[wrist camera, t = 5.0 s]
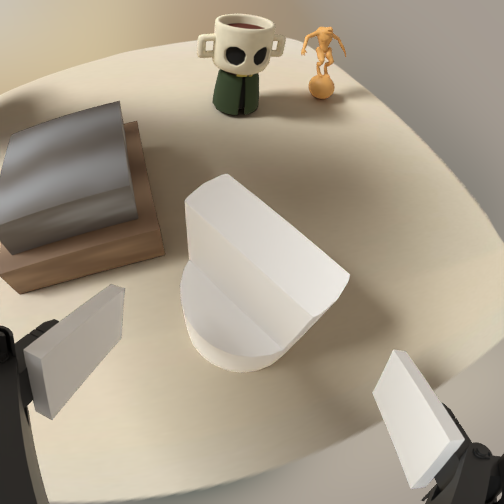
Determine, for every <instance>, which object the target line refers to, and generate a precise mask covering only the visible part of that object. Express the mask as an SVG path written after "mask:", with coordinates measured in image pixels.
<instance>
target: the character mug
mask: <svg viewBox="0 0 504 504" xmlns="http://www.w3.org/2000/svg"><path fill="white" fill-rule="evenodd" d="M274 33H275V24H274V22H272V21H270V20H269V19H266V18H263V17H259V16H254V15H248V14H227V15H223V16H220V17H218V18H216V21H215V32H214V34H203V35H200V36H199V38H198V46H197V55H198V57H200V58H209V57H213V58H212V60H213V62H214V64H215V65H216V66H217V67H218V68H219V69H220V70H219V73H218V77H217V81H216V85H215V89H214V95H213V104H214V105H215V107H216V109H217V110H219V111H221V112H223V113H226V114H232V115H238V108H239V109H241V108H245V110H244V114H249V113H251V112H254V111H255V110H256V109H257V107H258V101H259V75H258V73H259V72H261V71H263V70H264V69H265V68H266V66H267V65H268V64H269V61H270V57H279V56H282V54H283V51H284V46H285V41H286V37H285V36H284V35H277V34H274ZM206 41H214V44H213V50H212V51H206V50H205V48H206ZM273 41H278V44H277V49H276V50H272V45H273Z"/></svg>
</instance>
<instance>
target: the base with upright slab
mask: <svg viewBox="0 0 504 504" xmlns="http://www.w3.org/2000/svg"><path fill="white" fill-rule="evenodd" d="M185 215H186V228H187V240H188V251H189V261H188V262H187V264H186V266H185V268H184V270H183V274H182V279H181V283H180V294H181V305H182V309H183V314H184V318H185V323H186V327H187V331H188V334H189V336H190V339H191V341H192V344H193V345H194V346H195V348H196V349H197V351H198V352H199V353H200V355H201V356H203V357H204V358H205V359H206V360H208V361H209V362H210V363H212V364H213V365H215V366H217V367H220V368H222V369H225V370H227V371H234V372H241V373H244V372H252V371H258V370H260V369H263V368H265V367H268V366H270V365H272V364H273V363H274V362H275V361H277V360H278V359H279V358H281V357H282V356H283V355H284V354H285V353H286V352H287V351H288V350H289V349H290V348H291V347H292V346H293V345H294V344H295V343H296V342H297V341H298V340H299V339H300V338H301V337H302V336H303V335H304V334H305V333H306V332H307V331H308V330H309V329H310V328H311V327H312V326H313V325H314V324H315V323H316V322H317V321H318V320H319V318H320V317H321V316H322V315H323V314H324V313H325V312H326V311H327V310H328V309H329V308H330V307H331V306H332V305H333V304H334V302H335V301H336V300H337V299H338V298H339V296H340V294H341V293H342V291H343V289H344V288H345V286H346V285H347V283H348V281H349V277H350V274H349V273H348V272H346V271H345V270H344V269H343V268H342V267H341V266H340V265H338V264H337V263H336V262H335V261H334V260H333V259H331V258H330V257H329V256H328V255H327V254H326V253H324V252H323V251H322V250H321V249H320V248H318V247H317V246H316V245H315V244H314V243H313V242H311V241H310V240H309V239H308V238H307V237H305V236H304V235H303V234H302V233H301V232H299V231H298V230H297V229H296V228H295V227H293V226H292V225H291V224H290V223H289V222H287V221H286V220H285V219H284V218H282V217H281V216H280V215H279V214H278V213H276V212H275V211H274V210H273V209H271V208H270V207H269V206H268V205H266V204H265V203H264V202H263V201H262V200H260V199H259V198H258V197H257V196H255V195H254V194H253V193H252V192H250V191H249V190H248V189H247V188H245V187H244V186H243V185H241V184H240V183H239V182H238V181H236V180H235V179H234V178H233V177H231V176H230V175H229V174H223V175H220V176H218V177H216V178H214V179H211V180H209V181H207V182H205V183H203V184H202V185H201V186H200V187H198V188H197V189H196V190H195V191H194V192H192V193H191V194H190V195H189V196H188V197H187V198H186V200H185Z"/></svg>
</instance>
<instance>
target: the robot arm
mask: <svg viewBox="0 0 504 504" xmlns="http://www.w3.org/2000/svg"><path fill="white" fill-rule="evenodd" d="M124 294H125V288H122V287H119V286H116V285H113V284H110V285H109V286H107V287H106V288H105V289H103V290H102V291H100V292H99V293H98V294H96V295H95V296H94V297H92V298H91V299H89V300H88V301H87V302H85V303H84V304H83V305H81V306H80V307H79V308H77V309H76V310H74V311H73V312H72V313H70V314H69V315H68V316H66V317H65V318H64V319H62V320H61V321H57V320H55V319H53V320H50V321H47V322H44V323H42V324H41V325H40V326H38V327H37V328H36V330H35V329H34V330H33V331H31V332H30V334H27V335H26V336H24V337H23V338H22V339H20V340H19V341H18V342H16V343H15V344H14V338H13V333H12V331H11V330H10V329H9V328H6V327H4V326H0V504H49V502H48V498H47V495H46V492H45V488H44V485H43V481H42V477H41V473H40V469H39V465H38V460H37V456H36V451H35V446H34V441H33V435H32V430H31V423H30V417H29V411H28V407H27V405H28V404H29V403H30V402H31V401H32V400H33V402H34V406H35V410H36V412H38V413H40V414H42V415H44V416H46V417H47V418H49V419H51V420H53V418H54V417H55V416H56V415H57V414H58V412H59V411H60V410H61V409H62V407H63V406H64V405H65V404H66V403H67V401H68V400H69V399H70V398H71V397H72V395H73V394H74V393H75V392H76V391H77V389H78V388H79V387H80V386H81V385H82V383H83V382H84V381H85V380H86V379H87V377H88V376H89V375H90V374H91V373H92V372H93V370H94V369H95V368H96V367H97V366H98V365H99V363H100V362H101V361H102V360H103V359H104V358H105V356H106V355H107V354H108V353H109V352H110V351H111V350H112V348H113V347H114V346H115V345H116V344H117V343H118V341H119V340H120V339H121V338H122V321H123V306H124ZM372 394H373V396H374V399H375V401H376V403H377V406H378V408H379V411H380V413H381V415H382V418H383V420H384V423H385V425H386V427H387V430H388V432H389V435H390V437H391V440H392V442H393V445H394V447H395V450H396V452H397V455H398V458H399V460H400V463H401V465H402V468H403V471H404V473H405V476H406V479H407V481H408V484H409V487H410V489H415V488H422V487H426V486H427V485H428V484H429V483H430V482H431V481H432V479H433V478H435V480H436V482H437V484H436V485H435V486H434V487H433V488H432V489H431V491H429V493H428V494H427V495H426V496H425V497H424V498H423V499H422V501H424V500H425V499H426V498H428V499H427V501H426V503H425V504H504V454H503V455H502V456H501V457H500V456H492V453H491V451H490V450H489V449H488V448H487V447H486V446H485V445H483V444H480V443H472V442H471V440H470V439H469V437H468V436H467V434H466V433H465V431H464V429H463V428H462V426H461V425H460V424H459V422H458V420H457V419H455V416H454V414H453V413H452V411H451V410H450V409H449V408H448V407H447V406H446V405H445V404H443V403H441V401H440V400H439V398H438V397H437V395H436V394H435V392H434V391H433V390H432V388H431V387H430V385H429V384H428V382H427V381H426V379H425V378H424V376H423V375H422V373H421V372H420V371H419V369H418V368H417V366H416V365H415V363H414V362H413V361H412V359H411V358H410V356H409V355H408V354H407V352H406V351H401V350H395V349H393V351H392V353H391V355H390V358H389V360H388V362H387V364H386V366H385V368H384V370H383V372H382V375H381V377H380V379H379V381H378V383H377V385H376V387H375V389H374V391H373V392H372ZM501 492H502V497H501V499H500V500H499V501H498V502H497V496H498V495H499V494H500V493H501Z"/></svg>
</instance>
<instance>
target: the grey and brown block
mask: <svg viewBox="0 0 504 504" xmlns="http://www.w3.org/2000/svg"><path fill="white" fill-rule="evenodd" d="M0 242H1V244H0V277H1V278H2V279H3V280H5V281H6V282H7V283H8V284H9V285H10V286H11V287H12V288H13V289H14V290H15V291H16V292H18V293H19V294H22V293H26V292H29V291H33V290H36V289H40V288H43V287H47V286H51V285H54V284H58V283H61V282H65V281H69V280H72V279H76V278H80V277H83V276H87V275H91V274H94V273H98V272H102V271H105V270H109V269H113V268H117V267H120V266H124V265H128V264H132V263H136V262H139V261H143V260H147V259H151V258H155V257H159V256H162V255H165V251H164V246H163V242H162V237H161V232H160V227H159V223H158V219H157V215H156V211H155V206H154V202H153V198H152V193H151V189H150V184H149V179H148V175H147V170H146V165H145V160H144V155H143V150H142V145H141V140H140V134H139V129H138V123H137V121H134V122H130V123H126V124H123V119H122V113H121V107H120V101H117V102H113V103H109V104H105V105H101V106H97V107H93V108H89V109H86V110H82V111H79V112H75V113H72V114H69V115H65V116H62V117H59V118H56V119H53V120H50V121H47V122H44V123H41V124H38V125H36V126H33V127H30V128H27V129H25V130H22V131H19V132H17V133H14V134H12V135H11V137H10V141H9V144H8V147H7V151H6V154H5V158H4V162H3V166H2V170H1V174H0Z"/></svg>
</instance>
